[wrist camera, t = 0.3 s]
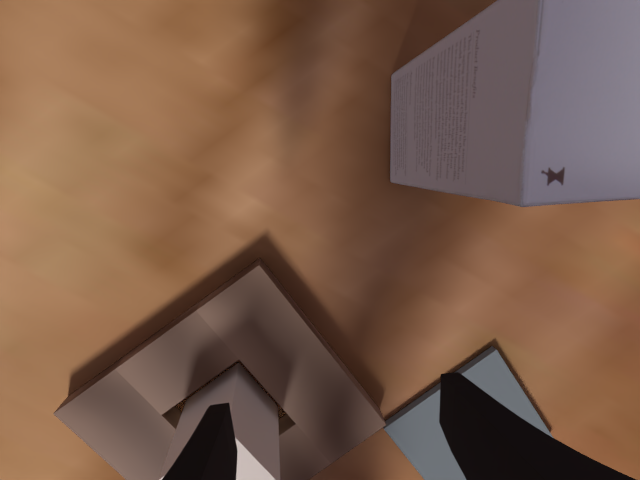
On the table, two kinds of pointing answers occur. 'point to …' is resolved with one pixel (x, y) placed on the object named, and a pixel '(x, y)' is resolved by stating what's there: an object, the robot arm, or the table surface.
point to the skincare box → (525, 105)
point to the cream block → (236, 424)
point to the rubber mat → (423, 414)
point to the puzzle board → (210, 360)
